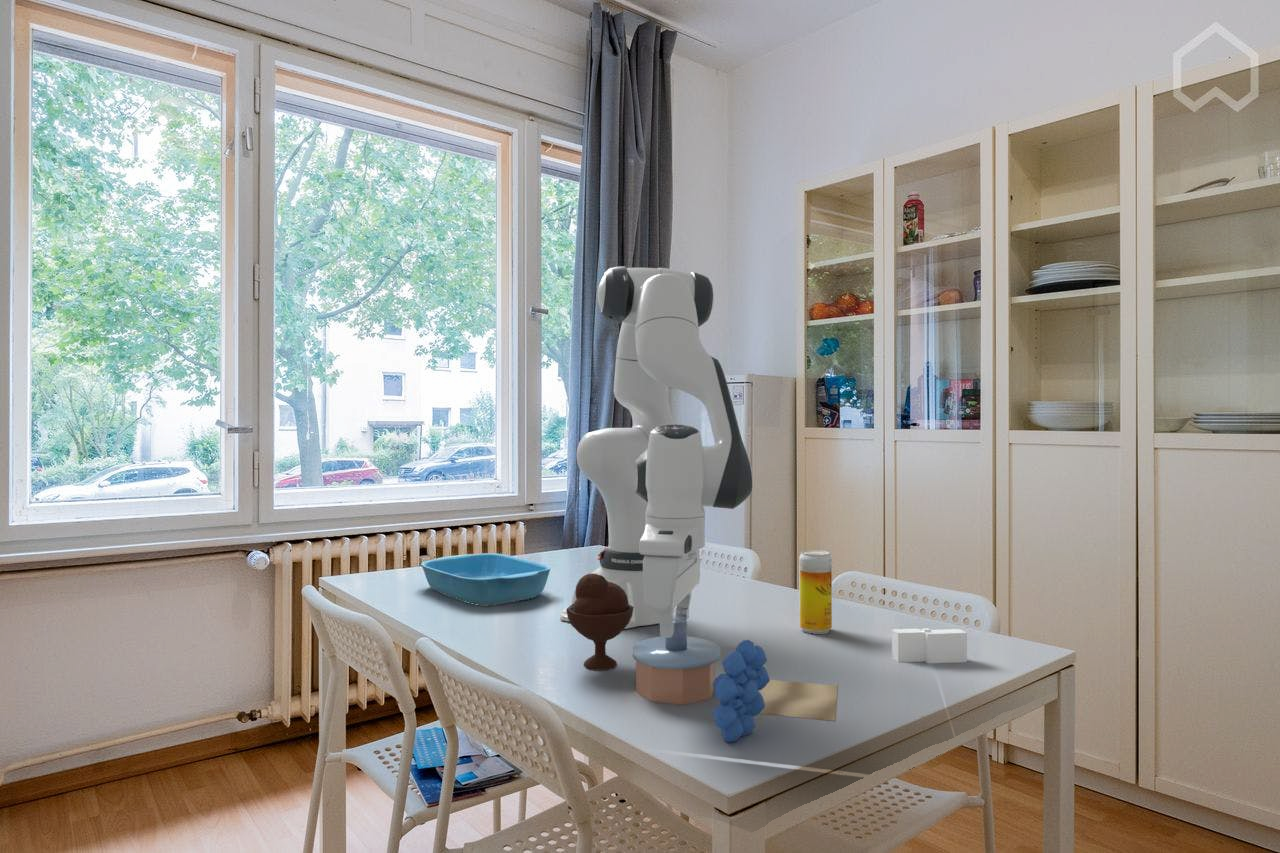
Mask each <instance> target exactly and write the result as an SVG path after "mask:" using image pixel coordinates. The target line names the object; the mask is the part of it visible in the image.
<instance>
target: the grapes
mask: <svg viewBox="0 0 1280 853" xmlns="http://www.w3.org/2000/svg"><path fill="white" fill-rule="evenodd" d="M766 655H767V654H766V652H765V650H764V649H763V647H761V646H759V645H755V643H754V642H753V641H751V640H750V639H745V640H744V639H743V640H742V641H741V642H739V643H738V645H737V646H736V647H735V649H734V651H732V652H730V653H729V654H728V655H727V656H726V657H725V658H724V659H723V661H722V667H723V671H724V672H723V673H721V674H719V675H717V677H716V679H715V681H714V682H713V688H714V692H713V693H714V696H715V697H716V699H717V701H718V702H719V704H718V705H717V706H716V707H715V709H714V710H713V711H712V717H713V721H714V723H715V725H716V726H717V728H719V729H720V732H721V736H722V737H723V739H724V741H725V742H727V743H729V744H730V743H734V742H736V741H737V740H738V739H739V738H740V737H744V736H749V735H750V734H751V733H752V731H753V730H754V729H755V727H756V726H755V725H756V724H755V719H754V717H757V716H758V715H759V713H760V712H761V711H762V710H763V709H764V707H765V703H764V699H763V697H762V695H761V693H760V692H759V691H758V690H761V689H763V688H764V687H765V686H766V685H767V684H768V682H769V681H770V680H771V679H770V677H769V673H768V670H767V669H766V668H765V667H764V665H765V664H766V662H767V661H768V659H767V656H766Z"/></svg>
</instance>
